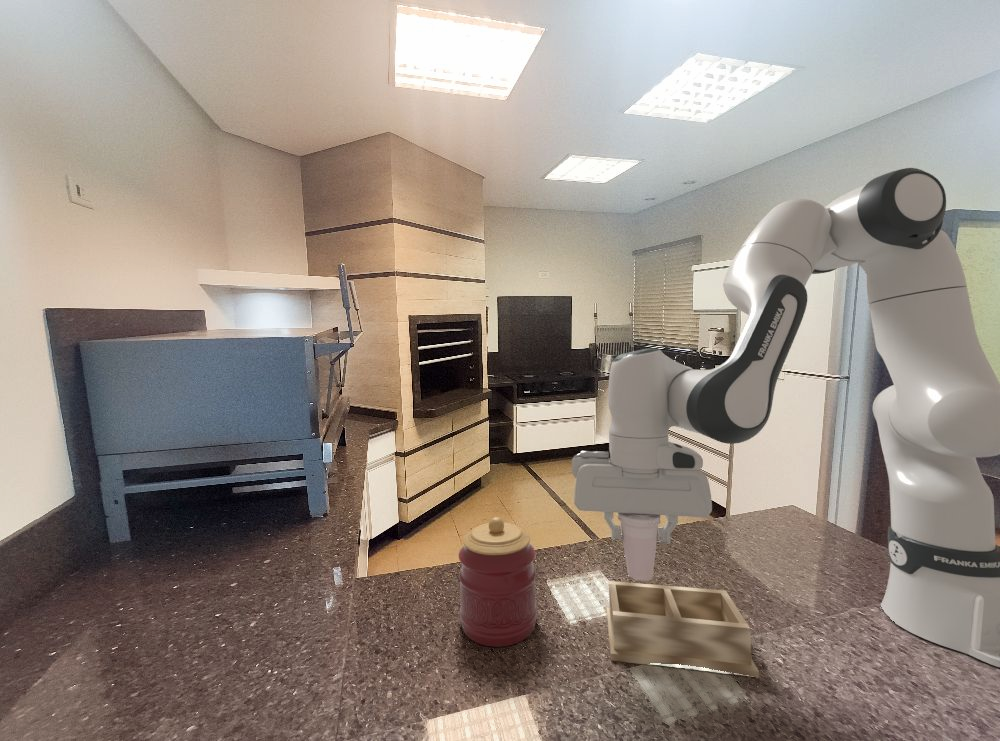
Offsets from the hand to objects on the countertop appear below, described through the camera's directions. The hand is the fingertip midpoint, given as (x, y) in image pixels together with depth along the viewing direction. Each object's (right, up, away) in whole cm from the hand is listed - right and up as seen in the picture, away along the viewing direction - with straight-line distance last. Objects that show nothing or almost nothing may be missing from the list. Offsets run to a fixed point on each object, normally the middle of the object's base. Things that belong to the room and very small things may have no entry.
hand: (640, 540), depth 62 cm
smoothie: (0, -6, 0) cm, 6 cm away
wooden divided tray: (+5, -15, -1) cm, 16 cm away
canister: (-22, -16, +5) cm, 28 cm away
